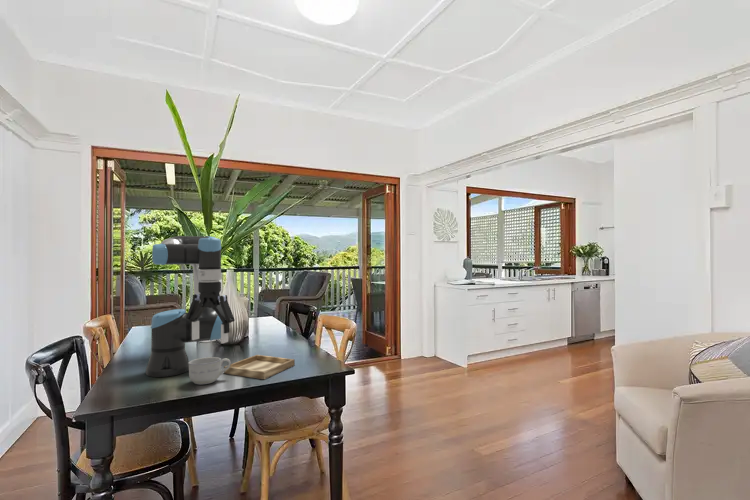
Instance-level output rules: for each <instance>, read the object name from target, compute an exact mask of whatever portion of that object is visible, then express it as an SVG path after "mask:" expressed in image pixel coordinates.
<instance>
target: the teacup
mask: <svg viewBox="0 0 750 500" xmlns="http://www.w3.org/2000/svg"><path fill="white" fill-rule="evenodd" d="M224 362H227V365H226V366H227V367H226V368H224V367H223V369H222V366H223V363H224ZM188 364H189V370H188V377H189V380H190V381H191V382H192V383H194V385H201V386H202V385H207V384H212V383H215V382H216V381H217V380H218V379H219V378H220V376H222V375H223V373H224V372H225V371H226V370H227V369H228V368H229V367H230V365H231V364H232V362H231V360H230V359H229V358H226V357H225V358H221V357H217V356H215V357H214V356H209V357H208V356H206V357H201V358H200V357H199V358H195V359H191V360H189V362H188Z"/></svg>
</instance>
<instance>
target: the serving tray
mask: <svg viewBox="0 0 750 500" xmlns="http://www.w3.org/2000/svg"><path fill="white" fill-rule="evenodd" d="M295 362H296V361H295V359H294V358H286V357H285V358H284V357H278V356H270V355H264V354H263V355H262V354H255V355H252V356H250V357H247V358H244V359H241V360H239V361H236V362H233V363H231V365H230V367H229V368H228V369H227V370H226V371H225V372H223V373H224V374H226V375H227V374H228V375H233V376H241V377H245V378H251V379H260V380H266V379H268V378H271V377H273V376H275V375H277V374H279V373H281V372H283V371H286V370H288V369H290V368H293V367H294V366H295ZM226 367H227V365H225V366H223V369H224V368H226Z"/></svg>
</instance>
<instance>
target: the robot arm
mask: <svg viewBox="0 0 750 500" xmlns="http://www.w3.org/2000/svg"><path fill="white" fill-rule="evenodd" d="M151 252H152V254H151V256H152V257H151V258H152V259H151V260H152V264H154V265H156V266H157V265H161V266H165V265H167V266H168V265H190V266H191V267H192V274H193V295H192V299H191V303H190V306H189V309H188V310H187V311H188V312H186V309H184V308H178V309H177V308H176V309H169V310H166V311H161V312H157V313H155V314H154V315H152V318H151V325H150V329H151V337H150V338H151V340H150V341H151V344H150V345H151V348H150V350H151V351H150V356H149V359H148V362H147V365H146V368H145V375H146V376H148V377H153V378H164V377H165V378H166V377H171V376H178V375H181V374H184V373H187V372H189V364H188V362H190V360H189V356H188V354H187V351H186V343H197V342H205V341H206V342H207V341H210V342H211V341H214V340H220V344H226V343H229V333H230V331H231V330H230V329H231V328H230V327H231V326H230V324H231V323H233V322H235V316H234V314H233V312H232V310H231V307H230V304H229V302H228V301H229V300H228V295H226V294H224V295H223V294H222V295H221V294H220V292H221V291H222V282H221V280H222V240H221V239H220V238H216V237H215V236H208V235H205V236H199V235H198V236H196V235H195V236H194V235H179V236H172V237H168V238H165V239H163V240H162V241H161V242H160V243H155V244H153V245H152V250H151Z"/></svg>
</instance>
